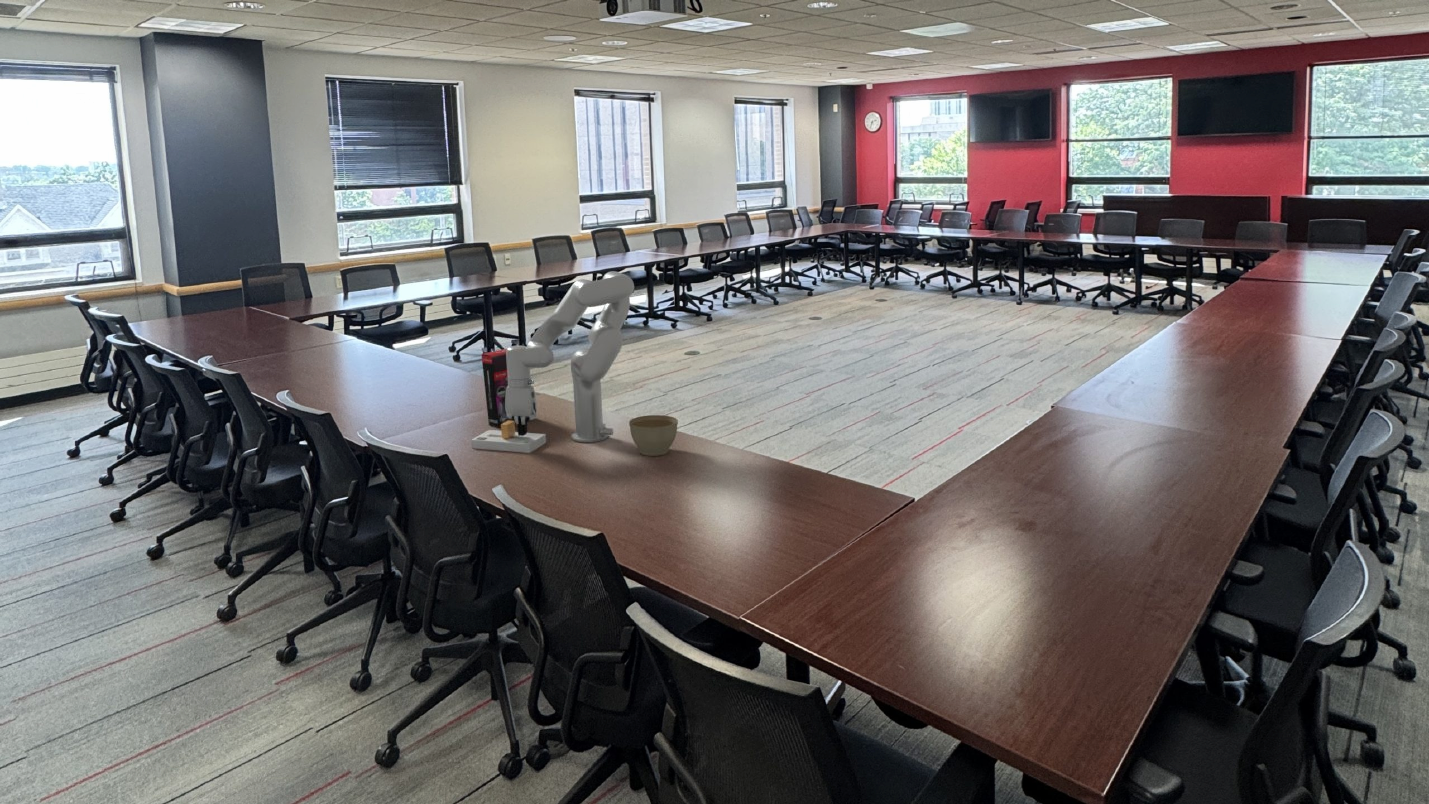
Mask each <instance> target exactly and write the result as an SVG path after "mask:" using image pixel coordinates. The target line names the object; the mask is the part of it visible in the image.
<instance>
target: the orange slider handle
mask: <svg viewBox="0 0 1429 804" xmlns="http://www.w3.org/2000/svg"><path fill="white" fill-rule="evenodd" d="M515 425H516V423H515V422H514V421H506V422H504V423H503V424H501V427H500V431H501V433H502V438H514V437H513V435H515V432H516V426H515Z"/></svg>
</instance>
